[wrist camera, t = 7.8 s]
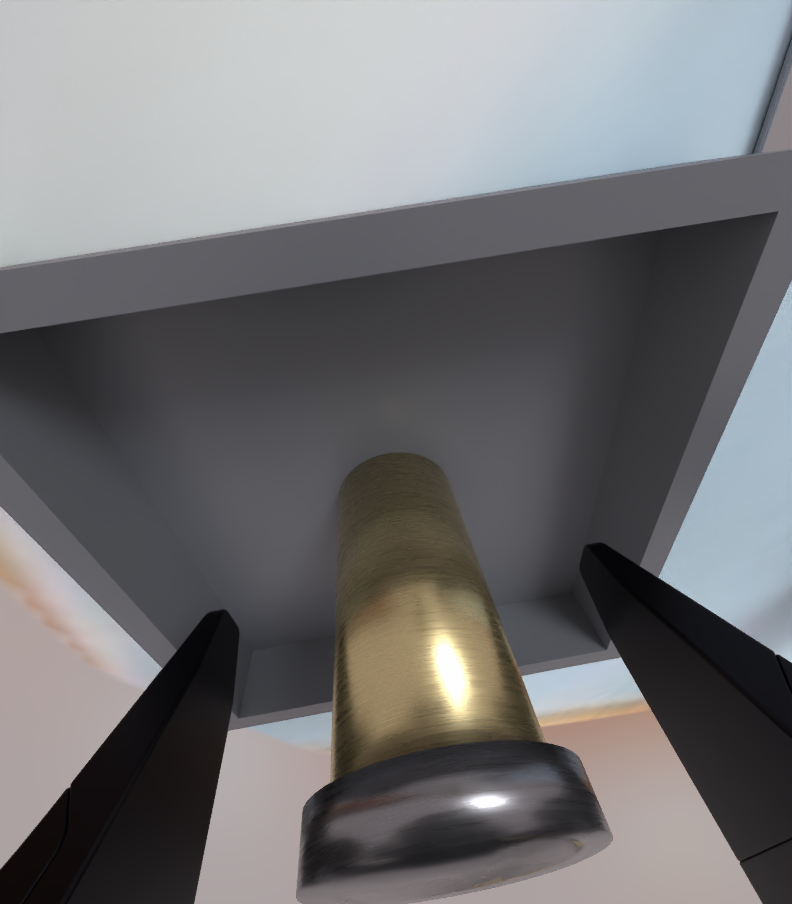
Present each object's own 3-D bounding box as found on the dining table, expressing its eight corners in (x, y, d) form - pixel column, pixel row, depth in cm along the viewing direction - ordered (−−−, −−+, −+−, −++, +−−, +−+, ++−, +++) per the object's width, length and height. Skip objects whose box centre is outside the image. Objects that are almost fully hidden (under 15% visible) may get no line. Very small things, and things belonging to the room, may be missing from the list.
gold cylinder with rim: (463, 534, 13) (584, 871, 6) (342, 555, 13) (336, 918, 6) (461, 429, 11) (652, 801, 4) (310, 454, 10) (246, 879, 4)
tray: (580, 588, 17) (622, 656, 14) (243, 650, 16) (225, 731, 14) (692, 161, 8) (854, 140, 6) (-21, 270, 8) (-204, 301, 5)
